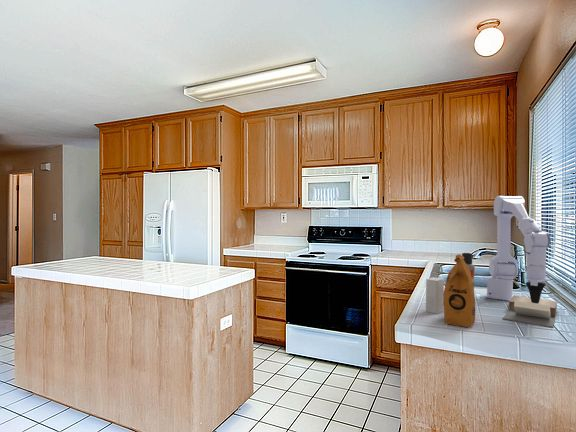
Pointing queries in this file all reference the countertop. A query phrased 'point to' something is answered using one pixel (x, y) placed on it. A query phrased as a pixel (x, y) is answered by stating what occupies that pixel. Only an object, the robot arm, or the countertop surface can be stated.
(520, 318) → the mat
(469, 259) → the lotion bottle
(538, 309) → the block
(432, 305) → the skincare box
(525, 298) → the board
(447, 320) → the coffee package
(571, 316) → the countertop surface
